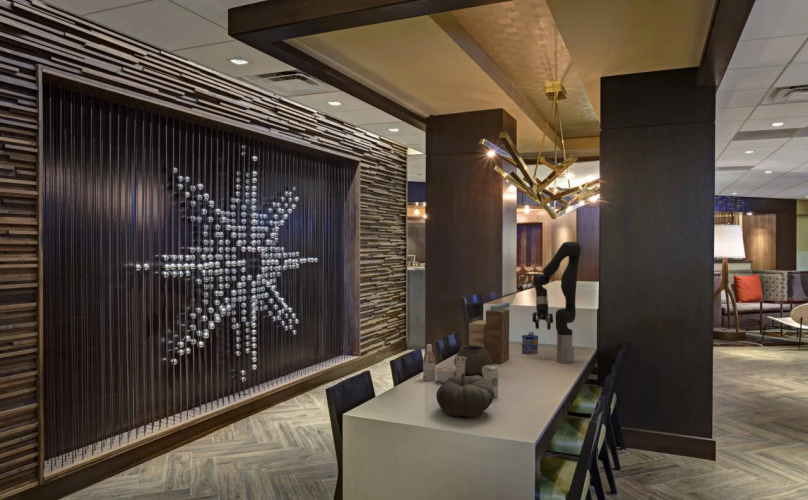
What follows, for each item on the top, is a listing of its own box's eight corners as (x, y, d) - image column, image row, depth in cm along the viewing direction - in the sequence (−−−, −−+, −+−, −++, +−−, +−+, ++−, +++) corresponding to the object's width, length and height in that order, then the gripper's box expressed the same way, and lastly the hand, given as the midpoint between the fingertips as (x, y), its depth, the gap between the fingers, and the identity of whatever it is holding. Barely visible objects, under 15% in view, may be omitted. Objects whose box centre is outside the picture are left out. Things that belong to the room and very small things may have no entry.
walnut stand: (493, 357, 349) (494, 308, 349) (508, 359, 345) (509, 309, 344) (485, 362, 335) (485, 310, 335) (501, 364, 331) (501, 311, 330)
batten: (503, 306, 356) (503, 302, 356) (509, 307, 355) (509, 302, 355) (490, 311, 334) (490, 306, 334) (496, 311, 332) (496, 306, 332)
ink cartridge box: (526, 354, 360) (526, 332, 360) (521, 353, 365) (521, 331, 365) (538, 353, 364) (538, 332, 364) (533, 351, 369) (533, 330, 369)
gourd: (494, 398, 246) (490, 363, 244) (498, 426, 222) (494, 386, 219) (439, 402, 249) (435, 367, 246) (437, 429, 225) (433, 390, 222)
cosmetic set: (469, 382, 286) (470, 347, 285) (463, 386, 278) (463, 350, 277) (427, 376, 298) (427, 342, 298) (419, 380, 290) (420, 345, 290)
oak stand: (478, 352, 365) (479, 320, 365) (492, 354, 361) (493, 321, 360) (468, 357, 349) (469, 323, 349) (483, 359, 345) (483, 324, 344)
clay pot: (491, 379, 293) (491, 352, 293) (451, 377, 297) (452, 350, 297) (492, 370, 314) (492, 344, 314) (456, 368, 318) (456, 343, 318)
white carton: (487, 394, 264) (487, 364, 264) (498, 396, 260) (498, 366, 260) (481, 396, 260) (481, 366, 259) (492, 399, 256) (492, 368, 256)
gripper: (536, 302, 346) (537, 328, 342) (554, 304, 350) (556, 329, 346) (529, 304, 352) (530, 329, 348) (547, 305, 357) (549, 330, 353)
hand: (543, 329), depth 347 cm, fingers open, 8 cm apart
